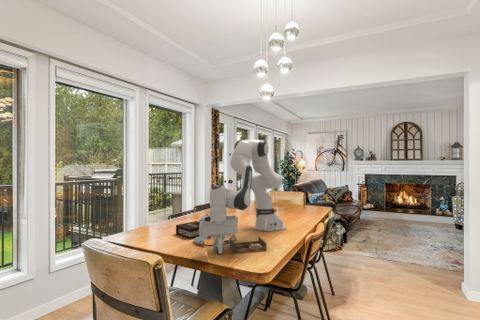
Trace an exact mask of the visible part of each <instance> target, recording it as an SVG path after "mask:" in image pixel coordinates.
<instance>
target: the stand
mask: <svg viewBox="0 0 480 320" xmlns="http://www.w3.org/2000/svg"><path fill="white" fill-rule="evenodd" d="M212 247H213V248H212V250H213V252H214V254H215V255H217V254H218V251H217V248H216V245H215V244H212ZM225 253H226V252H225V247H224V244H222V253H221V254H225Z"/></svg>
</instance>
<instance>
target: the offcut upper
mask: <svg viewBox="0 0 480 320" xmlns="http://www.w3.org/2000/svg"><path fill="white" fill-rule="evenodd" d="M250 247H252V248H257V247H261V245H259V244H251V245H250Z"/></svg>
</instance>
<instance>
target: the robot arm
mask: <svg viewBox="0 0 480 320" xmlns="http://www.w3.org/2000/svg"><path fill="white" fill-rule="evenodd" d="M268 153H269V144H268V142H267V141H266V140H263V139H260V140H259V139H256V138H255V139H254V138H253V139H252V138H251V139H239V140H236V142H235V144H234V150H233V153H232V155H231V157H230V166H231V167H230V168H231V169H232V170H233V171H234V172H236V173H238V175H239V174H240V175H241V176H242V179H241V185H240V188H239V190H231V189H228V188H227V187H226V186H225V185H224V184H215V185H212V186H211V187H210V190H209V206H210V207H209V212H208V213H205V214H203V215H201V216H200V220H202V221H201V222H200V224H199V235H200V236H211V235H212V238H213V239H212V240H213V243H214V244H217V240H216V239H215V238H214V237H215V235H222V236H223V237H222V244H224V241H225V239H224V238H225V234H231V235H232V234H234V235H236V234H238V232H239V227H238V222H239V219H238V217H237V216H236V215H228V213H227V212H228V211H227V208H228V209H235V210H240V211H245V210H246V209H247V208H249V207H250V204H251V192H252V191H253V193H254V196H255V204H256V205H255V206H256V207H255V218H256V219H255V222H254V223H255V224H254V229H255V230H257V231H265V232H273V231H281V230H287V226H286V225H285V224H284V221H283V219H282V218H281V217H280V216H279V215H278V214H276V213H277V211H278V210H277V209H276V208H273V199H272V196H271V195H270V194H269V193H266V192H265V189H266V190H270V189H271V190H274V189H279V188H280V187H281V186H282V183H283V180H282V176H281V175H280V174H278V173H277V172H275V171H274V170H273V168H272V167H271V166H270V163H269V159H268ZM250 162H251V163H250ZM253 170H254V171H255V173H254V172H253Z"/></svg>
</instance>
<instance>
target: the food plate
mask: <svg viewBox="0 0 480 320" xmlns="http://www.w3.org/2000/svg"><path fill="white" fill-rule="evenodd" d="M235 235H236V234H225V238H224V240H223V244H224V245H225V244H228V243H229V244H230V239H232V241H233V242H234V241H235V240H237V238H236V236H235ZM220 236H221V238H222V237H223V236H222V235H220ZM214 238H215V240H216V235H215V237H214ZM204 239H205V240H206V241H207V240H213V238H212V235H211V236H198V237H196V238H194V239H193V241H194V243H196V244H199V245H204V246H206V244H205V240H204ZM201 241H202V243H201ZM213 244H214V242H212V243H211V245H213ZM215 246H216V244H215Z"/></svg>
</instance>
